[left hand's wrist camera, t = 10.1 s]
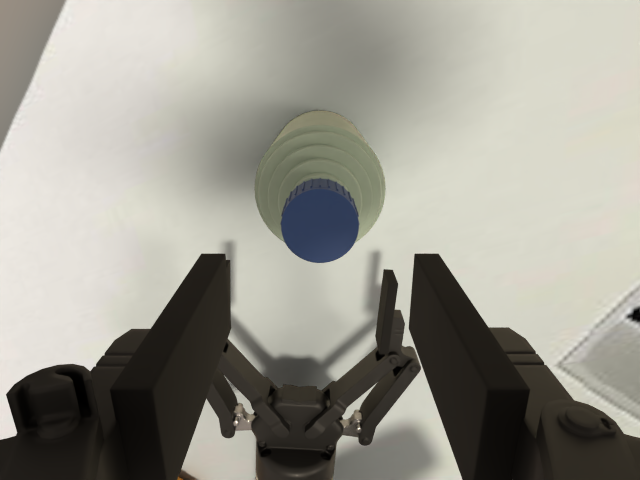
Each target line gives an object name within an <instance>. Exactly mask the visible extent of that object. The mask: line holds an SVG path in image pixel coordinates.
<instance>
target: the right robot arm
mask: <svg viewBox="0 0 640 480" xmlns="http://www.w3.org/2000/svg"><path fill="white" fill-rule="evenodd" d="M226 269H227V282H228V294H229V307H230V260H226ZM397 288H398V283H397V280H396V277H395V275H394V272H393V270H385V269H384V272H383V280H382V288H381V296H380V304H379V312H378V320H377V328H376V336H375V337H376V341H377V346H378V347H377V348H376V349H374V350H373V351H372V352H371V353H370V354H368V355H367V356H366V357H365V358H364V359H363V360H361V361H360V362H359V363H358V364H357V365H355V366H354V367H353V368H352V369H351V370H350V371H348V372H347V373H346V374H345V375H344V376H342V377H341V378H340V379H339V380H338V381H336V382H335V381H333V382H331V383H330V384H329V385H328V386H326V387H325V388H324V389H323V390H322V391H321V390H318V389H317V386H306V387H297V386H293V385H283V387H281V388H277V387H276V386H275V385H274V383H273V382H272V381H271V380H270V379H269V378H267V377H266V378H264V377H263V376H262V375H261V374H260V373H259V372H258V370H257V369H256V368H255V367H254V366H253V365H252V364H251V363H250V362H249V361H248V360H247V359H246V358H245V357H244V356H243V355H242V353H241V352H240V351H239V350H238V349H237V348H236V347H235V346H234V345H233V344H232V343H231V342H230V341H229V340H228V339H227V341H226V344H225V347H224V350H223V353H222V355H221V358H220V361H219V364H218V367H217V369H216V372H215V375H214V378H213V381H212V383H211V386H210V389H209V392H208V395H207V400H208V402H209V403H210V405H211V406H212V408H213V410H214V411H215V413H216V414H217V416H218V418H219V422H220V428H221V434H222V436H223V437H225V438H232V437H233V436H234V434H235V431H237V430H252V432H253V433H254V435H255V436H256V480H333V473H334V464H335V454H336V444H337V441H338V440H339V438H340V437H341V436H342V435H346V436H353V437H358V438H359V443H360V444H361V445H364V446H366V445H369V444H370V443H371V442H372V439H373V435H374V432H375V428H376V426H377V425H378V424H379V422H380V421H381V420H382V419H383V417H384V416H385V415H386V414H387V412H388V411H389V410H390V408H391V407H392V406H393V405H394V403H395V402H396V401H397V400H398V398H399V397H400V396H401V394H402V393H403V392H404V391H405V389H406V388H407V387H408V386H409V384H410V383H411V382H412V381H413V379H414V378H415V377H416V375H417V374H418V373H419V372H420V370H421V366H420V363H419V361H418V358H417V355H416V352H415V350H414V348H413V347H410V346H408V347H404V346H402V339H403V333H404V326H405V323H404V319H403V316H402V314H401V311H400V310H394V309H395V302H396V295H397ZM223 374H224V375H225V376H226V378H227V379H228V380H229V381H230V382H231V383H232V384H233V385H234V386H235V387H236V388H237V389H238V390H239V391H240V392H241V393H242V394H243V395H244V396H245V397H246V398H247V399H248V400H249V401H250V403H251V406H252V408H253V410H254V411H255V412H254V414H248V413H247V412H246V411H245V409H244V408H243V404H242V403H238V402H237V399H236V396H235V394H234V392H233V390H232V389H231V387H230V385H229V383H228V382H227V380H226V378H225V377H224V375H223ZM377 382H378V383H377ZM376 383H377V384H376ZM375 384H376V385H375ZM373 385H375V387H374V388H373V389H372V391H371V392H370V393H369V395H368V396H367V397H366V399H365V400H364V401H363V403H362V405H361V407H360V410H355V411H354V413H353V414H352V416H351V417H350V418H349V419H346V420H344V419H343V418H342V415H343V414H344V413H345V411H346V408H347V407H348V406H349V405H350V404H351V403H353V402H354V401H355V400H356V399H358V398H359V397H360V396H361V395H362V394H364V393H365V392H366V391H367V390H369V389H370V388H371V387H372V386H373Z"/></svg>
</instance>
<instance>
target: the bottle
mask: <svg viewBox="0 0 640 480" xmlns="http://www.w3.org/2000/svg"><path fill="white" fill-rule="evenodd" d="M319 178H321V179H329V180H332V181H334V182H336V181H337V183H338V184H340V185H341V186H344V188H345V189H346V190H347V191H349V192H350V195H351V197H352V198H354V201H355V205H356V207H357V211H358V214H359V217H358V220H359V223H360V225H359V231H358V236H357V239H356V241H355V242H357V241H358V240H359V239H361V238H362V237H363V236H364V235H365V234H366V233H367V232H368V231H369V230H370V229H371V228H372V227H373V225H374V224H375V222H376V221H377V219H378V217H379V215H380V213H381V210H382V207H383V204H384V198H385V179H384V174H383V170H382V167H381V165H380V162H379V160H378V159H377V157H376V155H375V153H374V152H373V151H372V149H371V148H370V147H369V145H368V144H367V142H366V141H365V140H364V138H363V137H362V136H361V134H360V133H359V131H358V130H357V129H356V127H355V126H354V125H353V124H352V123H351V122H350V121H348V120H347V119H346V118H344V117H342V116H341V115H338V114H336V113H333V112H329V111H311V112H307V113H304V114H302V115H300V116H298V117H296V118H294V119H293V120H292V121H290V122H289V123H288V124H287V125H286V126H285V127H284V129H283V130H282V131H281V133H280V134H279V136H278V137H277V138H276V140H275V141H274V142H273V144H272V145H271V146H270V148H269V149H268V151H267V152H266V154H265V155H264V157H263V158H262V160H261V162H260V164H259V167H258V170H257V174H256V179H255V199H256V203H257V207H258V210H259V213H260V215H261V217H262V219H263V221H264V222H265V224H266V225H267V227H268V228H269V229H270V230H271V231H272V232H273V234H275V235H276V236H277V237H278V238H279V239H281V240H282V241H284V239H283V236H282V231H281V225H280V223H281V219H282V216H281V214H282V211H283V207H284V205H285V202H286V198H288V197H289V195H290V192H291V191H293V190H294V189H295V188H296V186H299V185H300V184H302V183H303V181H305V182H306V181H308V180H311V179H319ZM284 242H285V241H284Z"/></svg>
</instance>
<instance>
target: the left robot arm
mask: <svg viewBox="0 0 640 480" xmlns="http://www.w3.org/2000/svg"><path fill="white" fill-rule="evenodd" d="M230 330H231V320H230V307H229V294H228V282H227V269H226V256H225V254H201V255H200V257H199V258H198V260H197V261H196V263H195V264H194V266H193V267H192V269H191V270H190V272H189V273H188V275H187V276H186V278H185V279H184V280H183V282H182V283H181V285H180V286H179V288H178V289H177V291H176V292H175V294H174V295H173V297H172V298H171V300H170V301H169V303H168V304H167V306H166V307H165V309H164V310H163V312H162V313H161V315H160V316H159V317H158V319H157V320H156V322H155V323H154V325H153V326H152V328H151V329H131V330H129V331H128V332H126V333H125V334H123V335H122V336H120V337H119V338H117V339H116V340H115V341H114V342H113V343H112V345H111V346H110V347H109V348H108V350H107V351H106V352H105V356H102V357H101V359H100V360H99V361H98V362H97V364H96V367H93V369H92V370H91V371H89V370H88V369H86V368H85V367H84V366H80V365H75V364H65V365H56V366H52V367H48V368H44V369H41V370H39V371H37V372H35V373H32V374H30V375H28V376H26V377H25V378H23V379H22V380H20V381H19V382H17V383H16V384H14V386H13V387H12V388H11V389H10V390H9V392H8V393H7V394H6V396H7V399H8V403H9V406H10V409H11V413H12V416H13V419H14V423H15V426H16V429H17V435H16V436H14V437H10V438H7V439H2V440H0V480H177V479H178V476H179V473H180V471H181V468H182V465H183V462H184V459H185V457H186V454H187V451H188V448H189V445H190V442H191V440H192V437H193V434H194V431H195V428H196V426H197V423H198V420H199V417H200V414H201V412H202V409H203V406H204V403H205V400H206V398H207V395H208V392H209V389H210V386H211V383H212V381H213V378H214V375H215V372H216V369H217V367H218V364H219V361H220V358H221V355H222V353H223V350H224V347H225V344H226V341H227V339H228V336H229V333H230ZM409 330H410V333H411V336H412V339H413V341H414V344H415V347H416V350H417V353H418V355H419V358H420V361H421V364H422V367H423V369H424V372H425V375H426V378H427V381H428V383H429V386H430V389H431V392H432V395H433V398H434V400H435V403H436V406H437V409H438V412H439V414H440V417H441V420H442V423H443V426H444V428H445V431H446V434H447V437H448V440H449V442H450V445H451V448H452V451H453V454H454V457H455V459H456V462H457V465H458V468H459V471H460V473H461V476H462V479H463V480H640V438H637V437H633V436H629V435H626V434H623V432H622V430H621V429H620V428H619V426H618V425H617V423H616V422H615V421H614V420H613V419H611V418H610V417H609V416H608V415H606V414H605V413H604V412H602V411H600V410H598V409H596V408H594V407H592V406H590V405H588V404H585V403H581V402H578V401H574V400H573V398H572V397H571V396H570V395H569V393H568V392H567V391H566V390H565V388H564V387H563V386H562V384H561V383H560V382H559V381H558V379H557V378H556V377H555V376H554V374H553V373H552V372H551V371H550V369H549V368H548V367H547V365H544V362H543V360H542V359H541V358H540V357H539V355H538V354H536V352H535V350H534V349H533V348H532V347H531V345H530V344H529V343H528V341H527V340H526V339H525V338H524V337H522V336H520V335H519V334H517V333H516V332H514V331H513V330H511V329H510V328H488V326H487V325H486V323H485V322H484V320H483V319H482V317H481V316H480V315H479V313H478V312H477V310H476V309H475V307H474V306H473V304H472V303H471V301H470V300H469V298H468V297H467V295H466V294H465V292H464V291H463V289H462V288H461V286H460V285H459V283H458V282H457V280H456V279H455V278H454V276H453V275H452V273H451V272H450V270H449V269H448V267H447V266H446V264H445V263H444V261H443V260H442V258H441V257H440V255H439V254H415V256H414V269H413V282H412V294H411V307H410V320H409Z"/></svg>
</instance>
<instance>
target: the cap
mask: <svg viewBox="0 0 640 480" xmlns="http://www.w3.org/2000/svg"><path fill="white" fill-rule="evenodd" d="M281 216H282V219H281V223H280V225H281V231H282V236H283V239H284V241H285V243H286V245H287V246H288V248H289V249H290V250H291V251H292V252H293V253H294V254H295V255H297V256H298V257H300V258H302V259H304V260H307V261H310V262H315V263H325V262H330V261H334V260H336V259H338V258H340V257H342V256H343V255H345V254H346V253H347V252H348V251H349V250H350V249H351V248H352V246H353V245H354V243H355V241H356V239H357V236H358V231H359V225H360V223H359V220H358V217H359V214H358V211H357V207H356V205H355V201H354V198H352V197H351V195H350V192H349V191H347V190H346V189H345V188H344V186H341V185H340V184H338V183H337V181H336V182H334V181H332V180H329V179H321V178H319V179H311V180H308V181H306V182H305V181H303V183H302V184H300V185H299V186H296V188H295V189H294V190H293V191H291V192H290V195H289V197H288V198H286V202H285V205H284V207H283V211H282V214H281Z"/></svg>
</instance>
